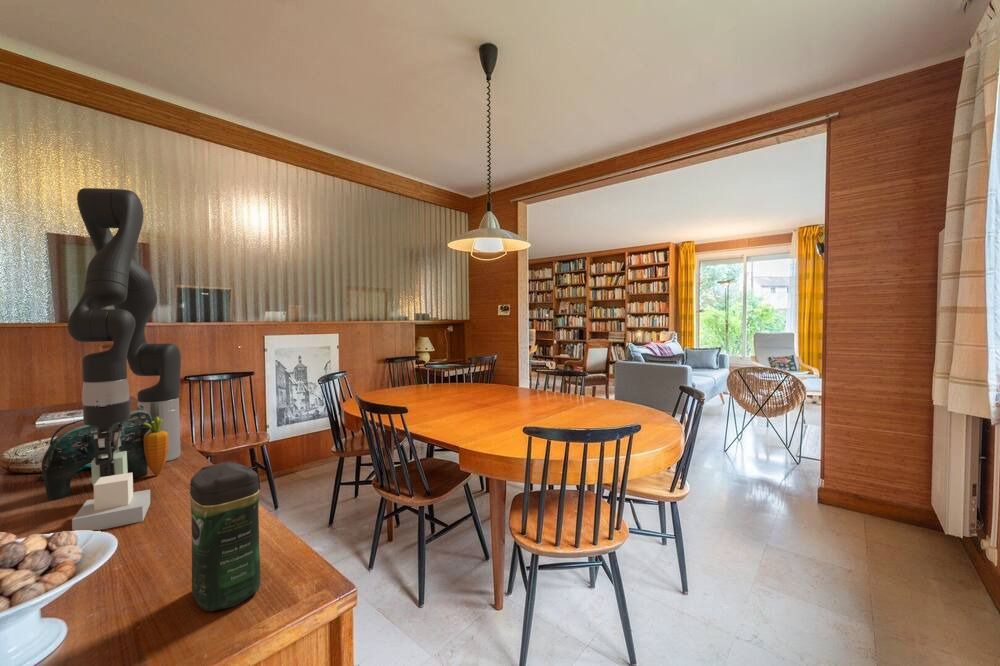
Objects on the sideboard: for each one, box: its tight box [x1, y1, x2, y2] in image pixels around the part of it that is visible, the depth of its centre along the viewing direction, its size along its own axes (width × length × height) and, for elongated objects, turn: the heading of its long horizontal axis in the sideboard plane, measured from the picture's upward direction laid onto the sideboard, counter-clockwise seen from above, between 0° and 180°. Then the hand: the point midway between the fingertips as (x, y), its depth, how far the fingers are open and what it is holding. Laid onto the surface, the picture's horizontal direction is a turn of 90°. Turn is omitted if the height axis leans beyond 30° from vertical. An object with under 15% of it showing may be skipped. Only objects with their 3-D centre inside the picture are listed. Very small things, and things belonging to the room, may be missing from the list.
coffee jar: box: [189, 461, 261, 612], centre depth 61 cm, size 10×8×19 cm
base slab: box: [71, 489, 151, 531], centre depth 84 cm, size 10×10×3 cm
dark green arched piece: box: [41, 405, 152, 501], centre depth 101 cm, size 20×6×20 cm, turn 152°
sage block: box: [90, 451, 128, 486], centre depth 92 cm, size 5×5×5 cm
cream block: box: [93, 472, 134, 511], centre depth 84 cm, size 5×5×5 cm
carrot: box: [143, 417, 168, 476], centre depth 107 cm, size 5×5×15 cm
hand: (110, 476), depth 93 cm, fingers closed on sage block, 5 cm apart
